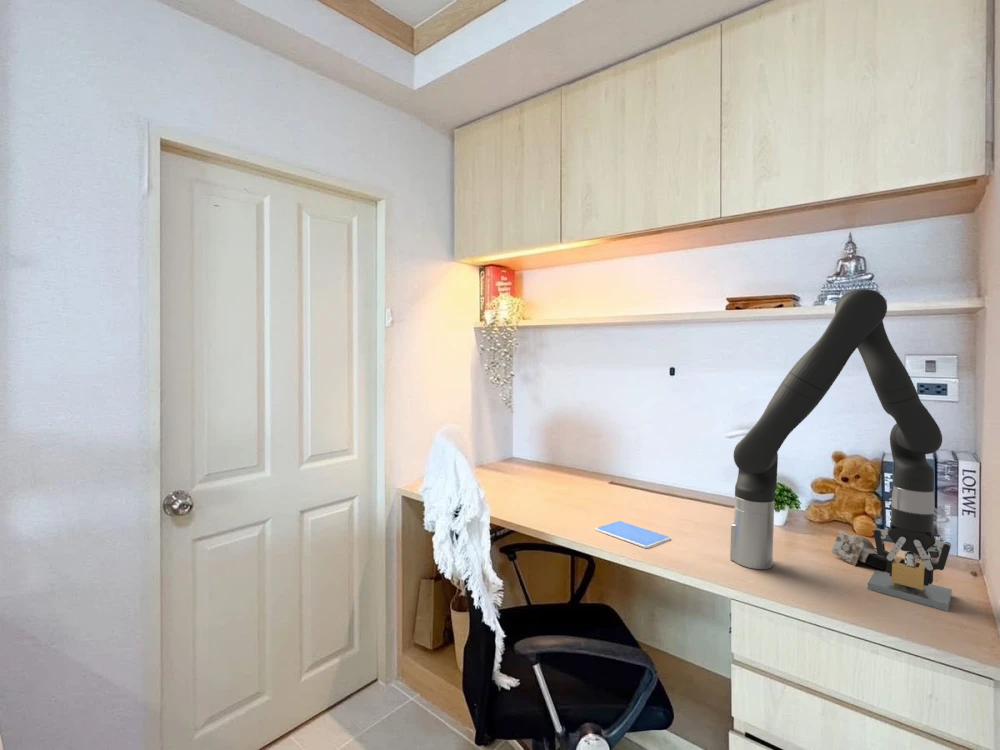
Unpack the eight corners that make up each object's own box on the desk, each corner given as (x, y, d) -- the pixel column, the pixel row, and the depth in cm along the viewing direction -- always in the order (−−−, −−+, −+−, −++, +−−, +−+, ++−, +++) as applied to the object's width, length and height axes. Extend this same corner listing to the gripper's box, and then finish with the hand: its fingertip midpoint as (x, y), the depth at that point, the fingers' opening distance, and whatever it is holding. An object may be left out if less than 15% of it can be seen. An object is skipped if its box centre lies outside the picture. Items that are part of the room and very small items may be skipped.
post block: (867, 588, 116) (869, 548, 116) (875, 576, 123) (876, 538, 123) (947, 611, 106) (949, 567, 106) (951, 595, 113) (953, 554, 113)
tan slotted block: (891, 581, 114) (892, 562, 114) (895, 574, 118) (896, 556, 118) (923, 590, 110) (924, 570, 110) (926, 582, 114) (927, 563, 114)
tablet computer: (593, 531, 154) (593, 527, 154) (619, 523, 162) (619, 519, 162) (646, 551, 139) (646, 546, 139) (672, 541, 146) (672, 536, 146)
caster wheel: (896, 577, 128) (871, 577, 124) (853, 552, 138) (829, 552, 135) (905, 554, 127) (881, 554, 123) (862, 531, 137) (838, 529, 133)
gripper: (870, 504, 116) (867, 574, 117) (953, 518, 106) (949, 596, 107) (876, 497, 121) (873, 565, 122) (956, 511, 111) (952, 585, 112)
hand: (909, 579), depth 114 cm, fingers closed on tan slotted block, 5 cm apart
